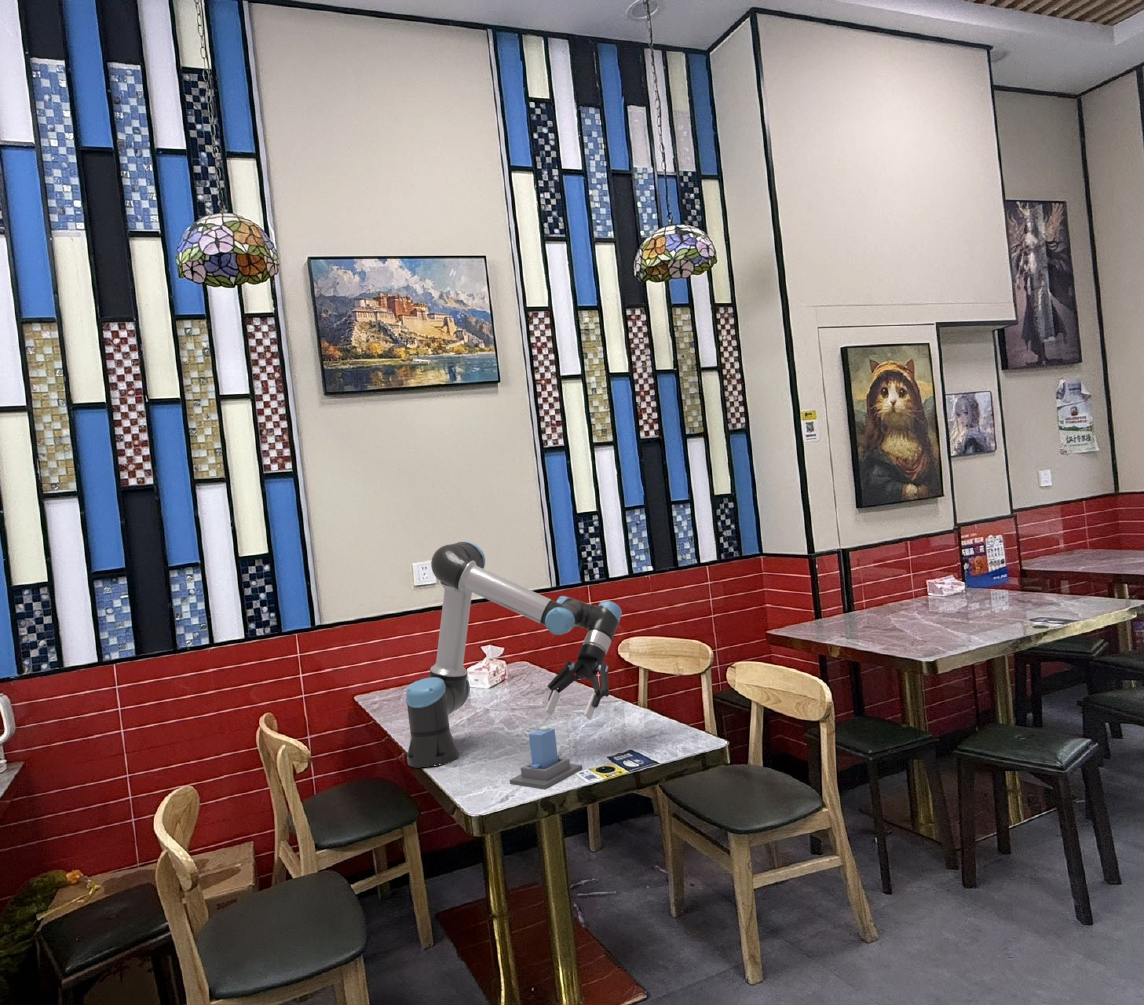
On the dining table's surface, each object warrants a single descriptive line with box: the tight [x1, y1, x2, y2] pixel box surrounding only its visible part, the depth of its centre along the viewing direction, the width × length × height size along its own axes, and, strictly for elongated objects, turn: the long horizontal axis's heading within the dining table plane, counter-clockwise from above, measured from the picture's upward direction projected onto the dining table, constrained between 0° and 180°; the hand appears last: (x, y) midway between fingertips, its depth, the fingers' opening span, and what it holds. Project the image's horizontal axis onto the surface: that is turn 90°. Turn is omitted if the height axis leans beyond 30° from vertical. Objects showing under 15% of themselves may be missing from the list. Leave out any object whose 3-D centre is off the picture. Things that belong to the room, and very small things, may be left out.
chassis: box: [509, 756, 583, 790], centre depth 221 cm, size 16×12×4 cm
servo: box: [528, 725, 560, 769], centre depth 221 cm, size 10×4×12 cm, turn 143°
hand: (567, 715), depth 230 cm, fingers open, 13 cm apart
